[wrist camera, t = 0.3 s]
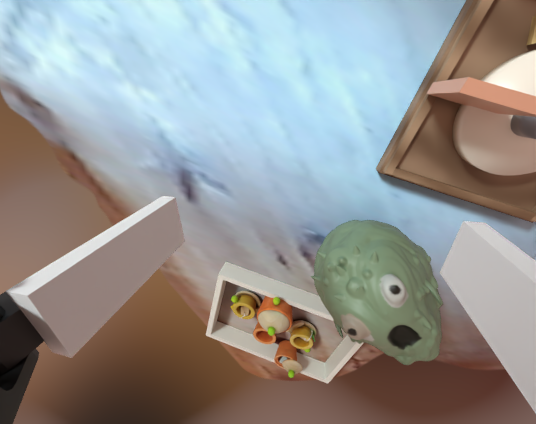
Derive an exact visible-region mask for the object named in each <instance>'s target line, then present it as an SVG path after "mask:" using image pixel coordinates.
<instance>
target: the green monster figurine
mask: <svg viewBox="0 0 536 424" xmlns="http://www.w3.org/2000/svg"><path fill="white" fill-rule="evenodd" d="M430 261H431V258H430V257H429V256H428V255H427V253H426V252H425V250H424V249H423V248H422V247H420V246H418V245H416V244H415V243H413V242H412V241H411V240H410V239H409V238H408V237H407V236H406V235H404V234H403V233H402V232H401V231H400V230H399V229H398V228H396V227H394V226H392V225H389V224H386V223H382V222H378V221H374V220H365V221H359V220H352V221H348V222H346V223H343V224H341V225H339V226H338V227H336V228H335V229H334V230H332V231H331V232H330V233H329V234H328V235H327V236H326V238H325V239H324V242H323V244H322V245H321V246H320V248H319V250H318V252H317V255H316V259H315V265H314V276H311V277H312V278H313V279H314V283H315V287H316V290H317V292H318V294H319V296H320V299H321V301H322V302H323V304H324V306H325V307H326V309H327V310H328V311H329V313H330V315H331V316H332V318H333V321H334V323H335V326H336V328H337V331H338V332H339V334H340V336H341V337H342V338H343V335H342V331H341V328H342V329H343V330H344V332H345V333H346V334H347V335H348V336H349V337H350V339H351V341H352V342H357V343H359V344H361V343H362V342H364V343H368V344H370V345H372V346H375V347H376V348H377V349H379V350H381V351H383V352H384V353H385V354H386V355H388V356H392V357H394V358H396V360H398V361H399V362H401V363H402V364H404V365H410V364H412V363H413V362H415V361H431V360H433V359H435V358H436V357H437V356H438V355H439V345H440V343H441V338H442V332H441V316H440V311H439V308H440V307H441V306H442V305H443V302H442V300H441V298H440V296H439V293H438V289H437V288H438V283H437V281H436V280H435V278H434V276H433V272H432V267H431V265H430Z"/></svg>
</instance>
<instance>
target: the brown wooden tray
mask: <svg viewBox="0 0 536 424" xmlns="http://www.w3.org/2000/svg"><path fill="white" fill-rule="evenodd" d="M532 50H536V0H466V2H465V4H464V6H463V8H462V9H461V11H460V13H459V15H458V17H457V19H456V21H455V22H454V24H453V26H452V28H451V30H450V32H449V34H448V35H447V37H446V39H445V41H444V43H443V45H442V47H441V48H440V50H439V52H438V54H437V56H436V58H435V60H434V61H433V63H432V65H431V67H430V69H429V71H428V73H427V74H426V76H425V78H424V80H423V82H422V84H421V86H420V87H419V89H418V91H417V93H416V95H415V97H414V99H413V100H412V102H411V104H410V106H409V108H408V110H407V112H406V113H405V115H404V117H403V119H402V121H401V123H400V125H399V126H398V128H397V130H396V132H395V134H394V136H393V138H392V139H391V141H390V143H389V145H388V147H387V149H386V151H385V153H384V154H383V156H382V158H381V160H380V162H379V164H378V166H377V167H376V169H377V171H378V172H379V173H382V174H385V175H388V176H391V177H395V178H398V179H401V180H404V181H407V182H410V183H413V184H416V185H419V186H422V187H425V188H428V189H431V190H434V191H438V192H441V193H444V194H447V195H450V196H453V197H456V198H459V199H462V200H465V201H468V202H471V203H474V204H477V205H481V206H484V207H487V208H490V209H493V210H496V211H499V212H502V213H505V214H508V215H511V216H514V217H517V218H521V219H524V220H527V221H530V222H534V221H535V222H536V172H532V173H528V174H523V175H513V176H512V175H496V174H492V173H488V172H486V171H483V170H481V169H479V168H476V167H474V166H472V165H470V164H469V163H467V162H466V161H465V160H463V159H462V158H461V156H460V155H459V154H458V152H457V150H456V149H455V146H454V142H453V125H454V120H455V117H456V114H457V112H458V110H459V107H460V106H461V104H459V103H455V102H452V101H449V100H445V99H442V98H439V97H435V96H432V95H429V94H427V92H428V90H429V89H430V87H431V85H432V83H433V82H439V81H445V80H452V79H459V78H465V77H470V78H474V79H477V80H481V79H482V78H483V77H484V76H486V75H487V74H488V73H489V72H491V71H492V70H493V69H495V68H496V67H498V66H499V65H501V64H502V63H504V62H506V61H508V60H510V59H511V58H514V57H516V56H518V55H521V54H523V53H526V52H529V51H532Z"/></svg>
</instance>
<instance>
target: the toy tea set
mask: <svg viewBox="0 0 536 424" xmlns="http://www.w3.org/2000/svg"><path fill="white" fill-rule="evenodd" d="M231 301H232V302H233V303H234V304H233V305H232V306H231V308H232V310H233V312H234V313H235V314H236V315H237V316H238V317H239V318H243V319H251V318H253V317H254V315H255V314H257V320H258V323H257V325H256V327H255V330H254V332H253V336H254V338H255V339H256V340H257V341H259V342H261V343H263V344H273V343H274V342H275V341H276V333H282V332H290V334H291V337H290V341H288V340H283V341H281V342H280V343H279V346H278V349H277V352H276V355H275V358H274V362H275V363H276V365H278V366H279V367H281V368H284V369H285V370H286V371H287V372H288V375H289V377H290V378H293V377H294V374H297V373H299V372H301V371H302V369H303V367H302V365H301V364H300V363H299V362H297V348H298V349H302V350H305V352H310V348H311V347H312V346H313V339H314V337H315V336H316V329H315V327H314V326H313V325H312V324H310V323H309V322H306V321H303V320H298V321H294V322H292V305H289V304H288V303H287V302H285V301H284V300H282V299H280V298H279V297H274V298H270V297H268V296H265V298H264V300H263V302H262V304H261V301H260V299H259V297H258V296H257V295H255V294H254V293H252V292H249V291H239V292H237V293H236V295H234V296H232V298H231ZM314 341H315V340H314ZM283 356H284V357H286V358H287V360H284V361H283V362H282V363H280V362H279V361H280V360H281V358H282V357H283Z"/></svg>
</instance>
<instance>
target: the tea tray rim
mask: <svg viewBox="0 0 536 424" xmlns="http://www.w3.org/2000/svg"><path fill="white" fill-rule="evenodd" d="M227 281H228V282H230V283H233V284H236V285H238V286H241V287H244V288H246V289H249V290H252V291H254V292H257V293H260V294H262V295H265V296H268V297H270V298H274V297H279V298H280V299H282V300H284V301H285V302H287V303H288V304H289V305H292V306H294V307H297V308H300V309H302V310H305V311H308V312H310V313H313V314H316V315H318V316H321V317H324V318H326V319H329V320H332V321H333V318H332V316H331V315H330V313H329V311H328V310H327V309H326V307H325V306H324V304H323V302H322V301H321V299H320V296H318V295H315V294H312V293H310V292H307V291H304V290H302V289H299V288H296V287H293V286H291V285H288V284H285V283H283V282H280V281H277V280H274V279H272V278H269V277H266V276H264V275H261V274H258V273H256V272H253V271H250V270H247V269H245V268H242V267H239V266H237V265H234V264H231V263H228V262H225V264H224V266H223V267H222V269H221V271H220V273H219V275H218V280H217V284H216V289H215V294H214V299H213V303H212V308H211V313H210V318H209V322H208V327H207V332H206V336H208V337H211V338H214V339H216V340H219V341H221V342H224V343H226V344H229V345H231V346H234V347H236V348H239V349H241V350H244V351H246V352H249V353H252V354H254V355H257V356H259V357H262V358H264V359H267V360H269V361H272V362H274V358H275V355H276V352H277V349H278V346H279V345H277V344H275V343H273V344H263V343H261V342H259V341H257V340H256V339H255V338H254V336H253V335H252V334H249V333H247V332H244V331H241V330H239V329H236V328H234V327H231V326H229V325H226V324H223V323H221V322H218V321H217V319H218V315H219V311H220V307H221V302H222V298H223V294H224V290H225V286H226V282H227ZM363 343H364V342H362V343H361V344H359V343H357V342H352V341H351V339H350V337H349V336H348V335H346V337H345V338H344V339H343V341H342V342H341V343H340V344H339V346H338V347H337V348H336V349H335V351H334V352H333V353H332V355H331V356H330V357H329V358H328V360H327V361H326V362H325V363H324V362H321V361H319V360H316V359H313V358H311V357H308V356H306V355H303V354H301V353H298V352H297V362H299V363H300V364H301V365H302V367H303V369H302V371H301V372H300V373H302V374H305V375H307V376H310V377H312V378H315V379H317V380H320V381H323V382H325V383H329V382H330V380H331V379H332V378H333V377H334V376H335V375H336V374H337V373H338V371H339V370H340V369H341V368H342V367H343V366H344V365H345V364H346V362H347V361H348V360H349V359H350V358H351V357H352V356H353V354H354V353H355V352H356V351H357V350H358V349H359V348H360V347H361V345H362V344H363ZM284 360H287V358H286V357H284V356H283V357H282V358H281V360H280V361H279V362H280V363H282V362H283V361H284ZM274 363H275V362H274Z"/></svg>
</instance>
